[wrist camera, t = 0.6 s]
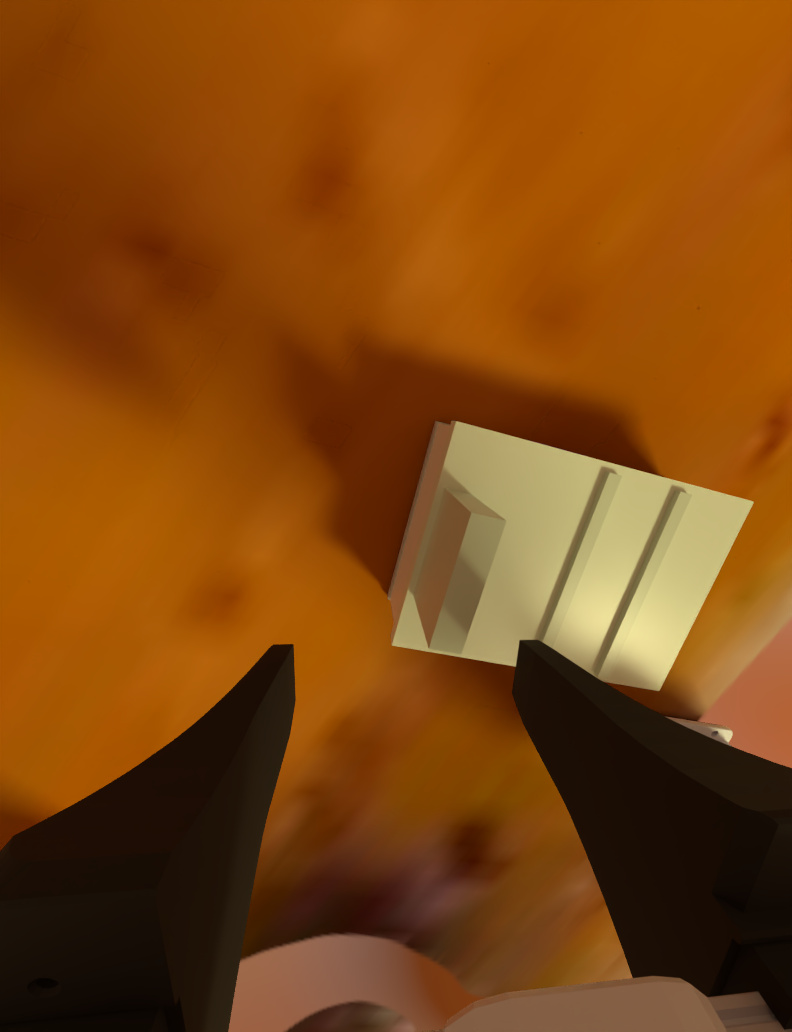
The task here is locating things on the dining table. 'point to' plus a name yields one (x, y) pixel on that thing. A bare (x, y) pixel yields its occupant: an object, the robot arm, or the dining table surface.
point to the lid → (561, 558)
